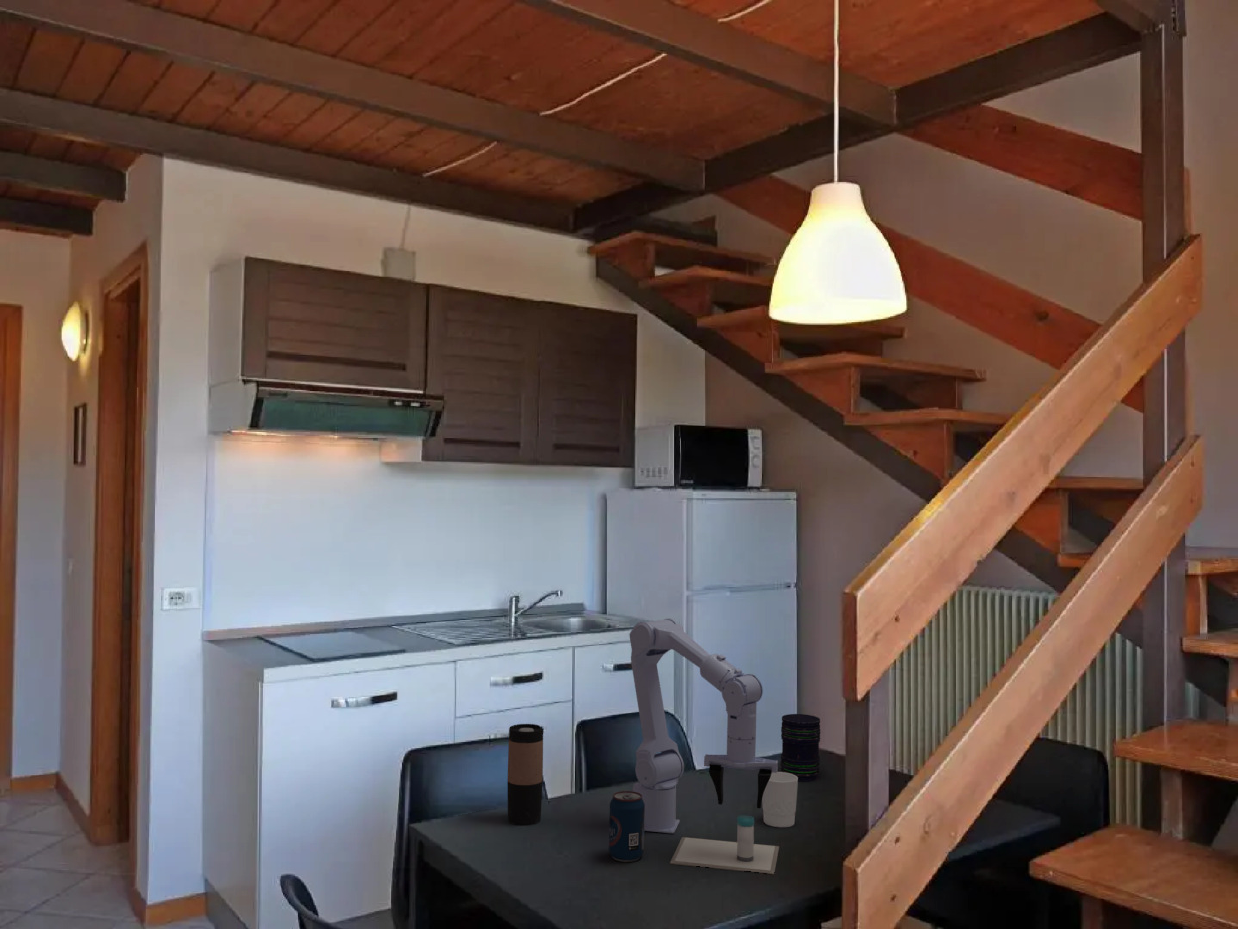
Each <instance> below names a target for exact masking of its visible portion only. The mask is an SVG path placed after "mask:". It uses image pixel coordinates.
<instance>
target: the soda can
mask: <svg viewBox="0 0 1238 929" xmlns="http://www.w3.org/2000/svg"><path fill="white" fill-rule="evenodd" d="M644 820H645V804H644V802H643V799H642V795H641V794H640V793H637V792H633V791H631V790H622V791H620V790H619V791H617V792H615V793H613V794H612V798H611V799H610V802H609V825H608V826H609V828H608V832H609V834H608V852H609V853H610V856H611V858H612V859H614V861H615V860H616V861H618V862H624V863H628V862H629V863H630V862H635V861H639V860H640V859H641V858H642V856H643V853H644V852H645V831H644Z"/></svg>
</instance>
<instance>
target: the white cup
mask: <svg viewBox="0 0 1238 929" xmlns="http://www.w3.org/2000/svg"><path fill="white" fill-rule="evenodd" d="M798 783H799V782H798V777H797V776H795V775H793V774H790V773H785V772H782V771H777V773H773V772H772V774H771V777H770V779H769V781H768V783H767V786H766V788H765V791H764V793H763V797H762V804H761V805H762V810H763V815H762V816H763V823H765V824H766V825H767V826H770V827H775V828H790V827H793V826H794V825H795V817H796V811H797V799H798V786H799V785H798Z"/></svg>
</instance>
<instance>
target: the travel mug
mask: <svg viewBox="0 0 1238 929" xmlns="http://www.w3.org/2000/svg"><path fill="white" fill-rule="evenodd" d="M507 751H508V752H507V753H508V754H507V755H508V756H507V779H506V780H507V783H506V784H507V821H508V822H509V824H512V825H515V826H533V825H536V824H538V823H540V821H541V817H542V816H541V815H542V802H543V799H542V798H543V782H544V781H543V780H544V778H543V777H544V776H543V774H544V769H543V768H544V728H542V727H541V725H539V724H535V723H534V724H533V723H518V724H513V725H510V726H509V728H508V750H507Z"/></svg>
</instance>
